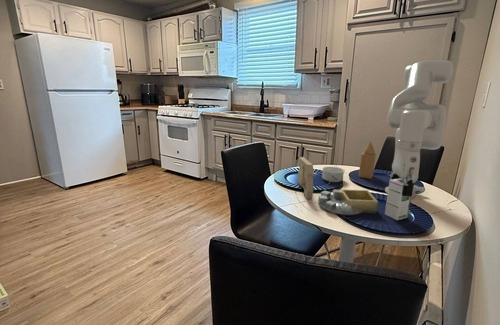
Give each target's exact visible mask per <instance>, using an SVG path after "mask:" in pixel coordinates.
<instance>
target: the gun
mask: <svg viewBox="0 0 500 325" xmlns="http://www.w3.org/2000/svg"><path fill="white" fill-rule="evenodd" d="M298 168H299V169H298V173H297V182H298V185H299V186H300V187H301V188H302V189H303V190H304V191H303V194H304V197H305V200H313V195H314V174H315V172H314V164H313V163H311V162H310V161H309V160H308V159H306V158H305V157H304V156H301V157H300V156H299V158H298Z"/></svg>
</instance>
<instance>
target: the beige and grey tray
mask: <svg viewBox="0 0 500 325" xmlns="http://www.w3.org/2000/svg"><path fill="white" fill-rule="evenodd" d="M317 201H318V206H319V207H320V209H322V210H324V211H326V212H328V213H331V214H333V215H336V216H337V215H338V216H344V217H346V216H347V217H348V216H349V217H353V216H358V215H361V214H377V212H378V205H379V201H378V199H376V197H375V196H374V195H373V194H372V192H370V191H369V190H368V189H367V190H365V189H344V188H341V189H333V190H332V192H331V191H327V190H323V191H321V192H320V195H318V200H317Z"/></svg>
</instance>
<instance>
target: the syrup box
mask: <svg viewBox="0 0 500 325" xmlns="http://www.w3.org/2000/svg"><path fill="white" fill-rule="evenodd" d="M408 181H409V180H408ZM388 183H389V184H388V186H389V189H388V193H387V197H386V204H385V209H384V210H385V211H384V214H385V216H387V217H389V218H391V219H392V220H395V221H399V220H403V219H408V217H409V212H410V207H411V202H412V198H411V197H410V196H402V191H403V185H405V182H404V179H403V178H399V179H393V180H390V179H389V182H388Z"/></svg>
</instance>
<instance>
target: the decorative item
mask: <svg viewBox="0 0 500 325" xmlns="http://www.w3.org/2000/svg"><path fill="white" fill-rule="evenodd" d="M376 156H377V153H376V151H375V149H374V146H373V143H372V141H369V143H367V145H366V147H365V148H364V149H363V150H362V153H361V154H360V161H359V163H360V164H359V169H358V177H359V178H362V179H372V178H373V176H374V170H375V163H376V158H377V157H376Z"/></svg>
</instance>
